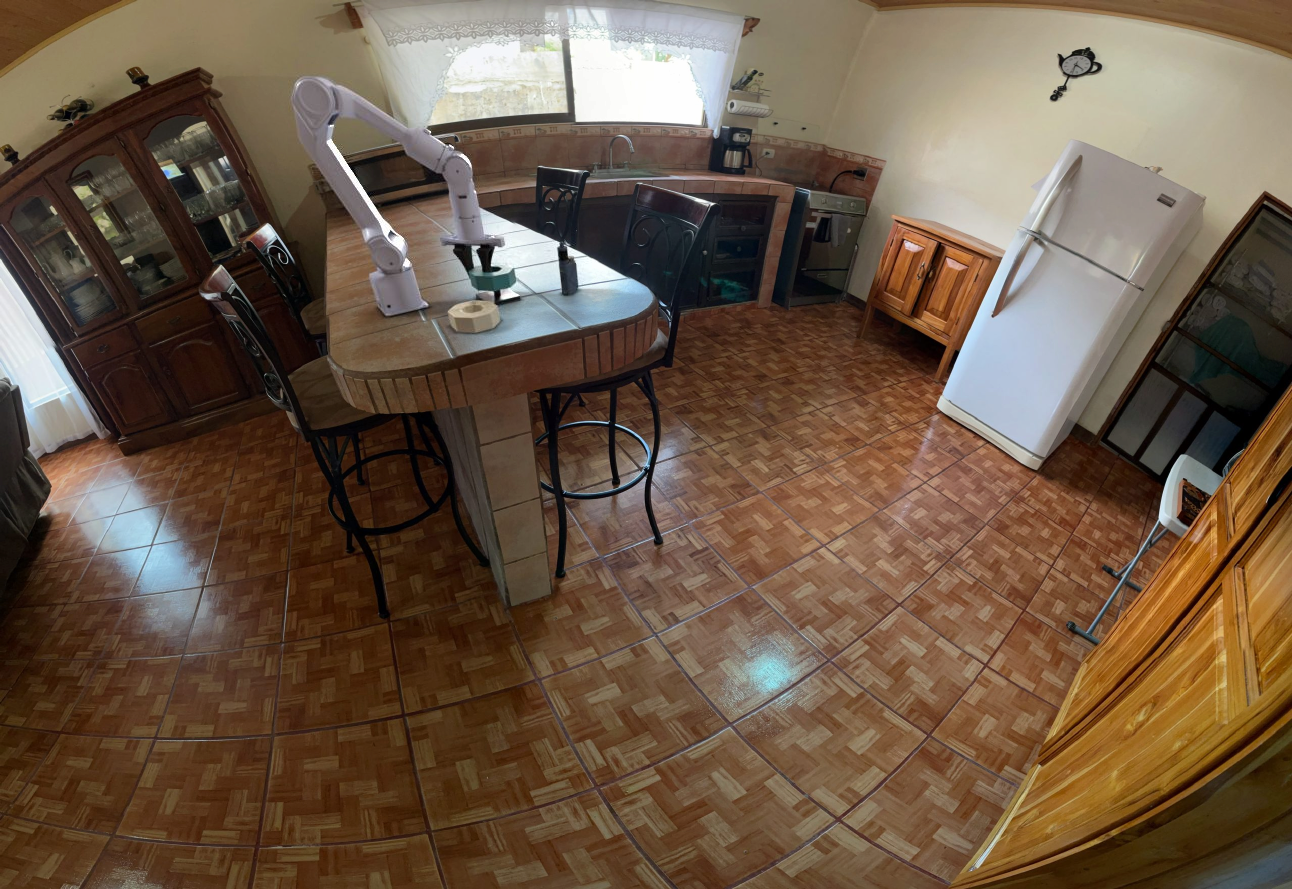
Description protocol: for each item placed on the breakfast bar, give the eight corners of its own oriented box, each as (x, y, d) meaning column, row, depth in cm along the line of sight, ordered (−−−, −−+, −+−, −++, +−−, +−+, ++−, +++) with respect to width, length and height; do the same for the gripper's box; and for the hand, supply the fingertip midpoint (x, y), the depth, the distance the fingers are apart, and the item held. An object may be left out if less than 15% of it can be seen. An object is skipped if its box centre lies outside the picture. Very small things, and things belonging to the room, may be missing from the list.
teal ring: (482, 294, 114) (479, 279, 112) (467, 282, 121) (464, 268, 119) (521, 285, 119) (519, 270, 117) (504, 274, 125) (502, 260, 123)
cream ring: (462, 336, 105) (458, 321, 103) (446, 322, 111) (442, 307, 109) (505, 325, 109) (502, 309, 107) (488, 311, 116) (485, 297, 113)
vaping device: (559, 294, 124) (553, 243, 117) (572, 287, 127) (566, 238, 120) (568, 296, 123) (563, 245, 116) (580, 289, 126) (575, 239, 119)
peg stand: (489, 307, 117) (484, 282, 114) (476, 298, 123) (470, 273, 119) (520, 299, 121) (516, 274, 118) (506, 290, 126) (502, 266, 123)
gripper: (505, 212, 114) (515, 272, 122) (444, 211, 115) (458, 271, 123) (493, 219, 108) (504, 282, 116) (429, 218, 110) (445, 280, 118)
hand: (480, 277), depth 119 cm, fingers closed on teal ring, 3 cm apart
